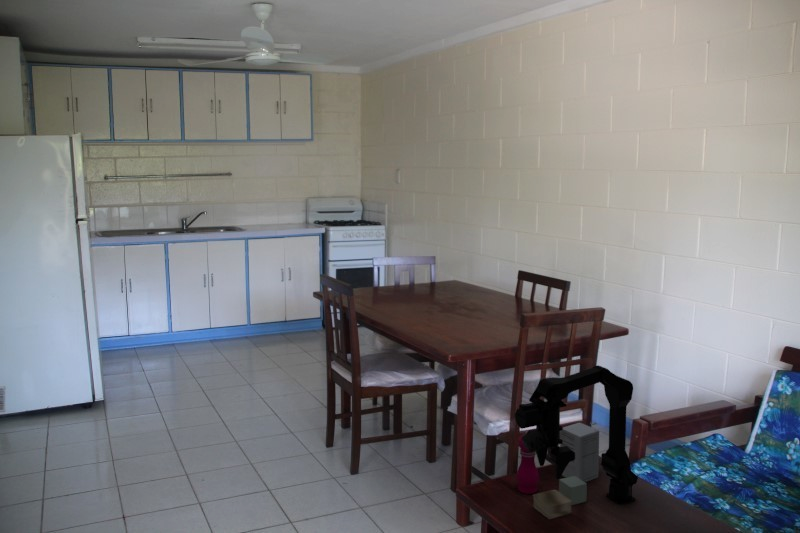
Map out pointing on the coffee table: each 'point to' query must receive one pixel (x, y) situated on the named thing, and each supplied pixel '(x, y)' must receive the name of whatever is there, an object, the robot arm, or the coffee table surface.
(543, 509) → the oak box
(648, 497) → the coffee table surface
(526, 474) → the pepper mill
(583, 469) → the supplement box
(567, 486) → the sage block
